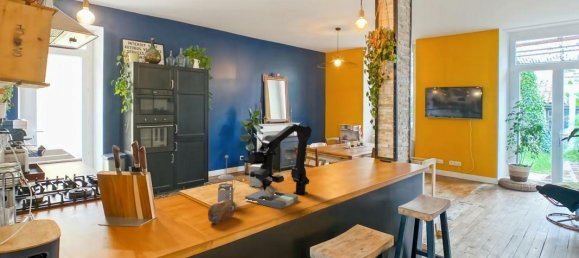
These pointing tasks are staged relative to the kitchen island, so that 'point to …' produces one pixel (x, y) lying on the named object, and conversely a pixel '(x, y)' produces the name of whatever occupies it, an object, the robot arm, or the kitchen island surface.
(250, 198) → the board
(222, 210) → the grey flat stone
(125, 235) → the kitchen island surface
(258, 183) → the supplement box
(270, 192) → the maple block
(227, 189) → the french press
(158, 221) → the kitchen island surface
